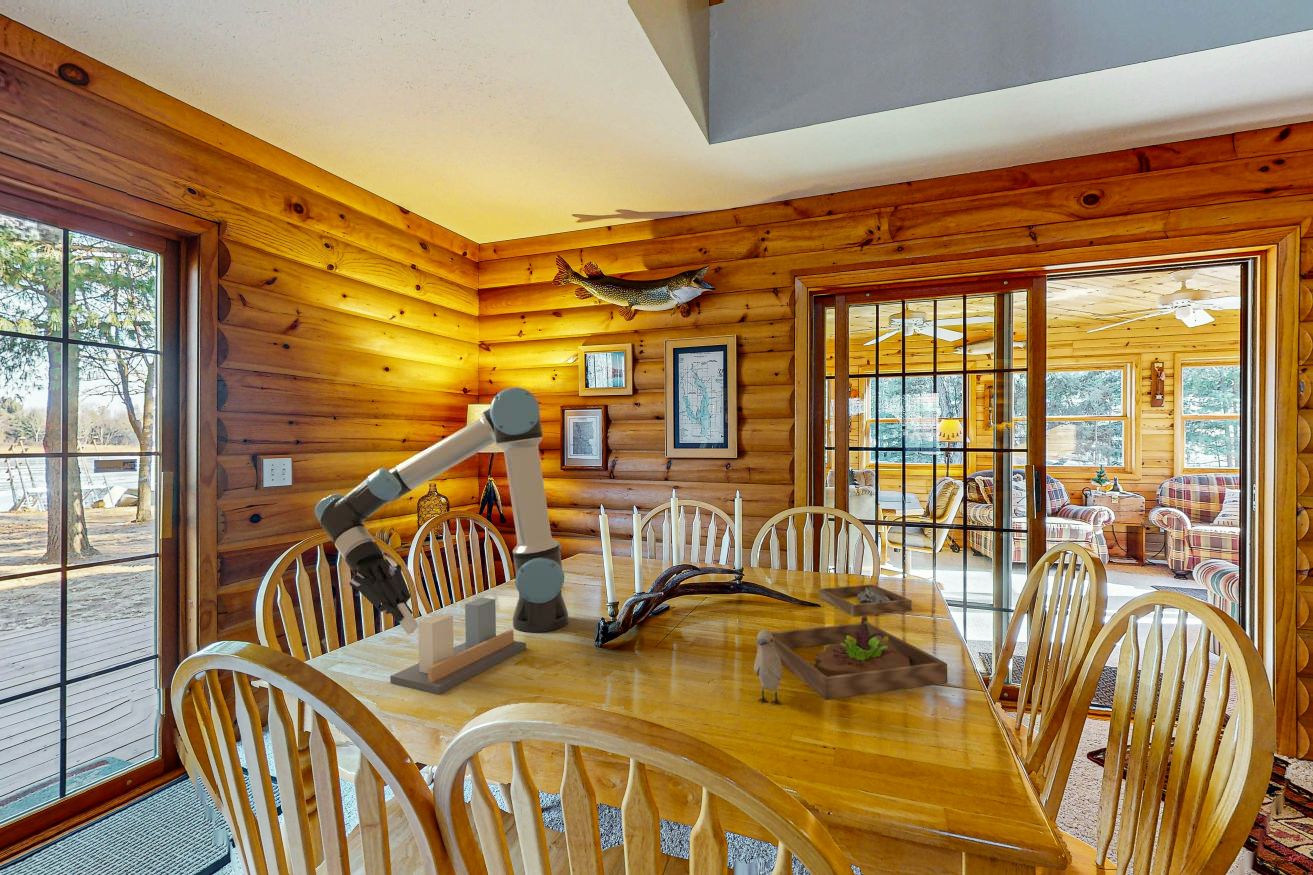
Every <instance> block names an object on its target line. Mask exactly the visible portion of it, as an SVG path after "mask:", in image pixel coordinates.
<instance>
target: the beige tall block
mask: <svg viewBox="0 0 1313 875" xmlns="http://www.w3.org/2000/svg"><path fill="white" fill-rule="evenodd" d="M417 623H418V625H419V626H418V661H419V662H418V663H419V672H423V673H428V667H430V666H433V665H435V664H437V663H439V662H441V661H443V660H446V659H448V658H450V657H452V656H454V649H453V648H454V615H451V614H446V613H436V614H434V615H431V616H429V617H426V618H423V619H420V620H418V622H417Z"/></svg>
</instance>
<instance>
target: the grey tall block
mask: <svg viewBox="0 0 1313 875" xmlns="http://www.w3.org/2000/svg"><path fill="white" fill-rule="evenodd" d="M496 608H497V607H496V598H489V597H481V598H477V599H475V600H472V601H470V602H466V603H464V609H465V610H464V611H465V613H464V617H465V619H464V620H465V624H464V625H465V642H466V650H467V649H469V648H471V647H474V646H476V645H478V644H480V643H482V642H484V641H487V640H489V639H491V638H493V637H495V636H497V620H496V619H497V615H496V614H497V613H496Z"/></svg>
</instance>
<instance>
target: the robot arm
mask: <svg viewBox="0 0 1313 875" xmlns="http://www.w3.org/2000/svg"><path fill="white" fill-rule="evenodd" d="M540 411H541V410H540V404H539V401H538V400H537V398H536V396H535V395H534V394H533V393H532V392H531V391H529V390H527V389H525V388H524V387H523V388H522V387H508V388H504V389H503V390H501V391H499V392H498V393H497V394H496V395H495V396H494V397H493V399H492V401H491V404H490V407H489V408H488V409H487V410H484V411H483V412H482V413H481V416H480V417H479V418H478V419H476V420H475V421H473V422H471V423H469V424H468V425H466V426H464V427H463V428H461V429H459V430H458V431H455V432H454V433H452V434H451V435H449V436H447V437H445V438H444V439H442V440H440V441H438V442H436V443H435V444H434V445H431V446H429V447H428V448H427V449H425V450H422V451H421V452H419V453H417V454H415V455H414V456H412V457H411V458H409V459H407V460H406V461H405V460H404V461H403V462H402V463H399V465H396V466H394V467H393V468H391V469H389V470H388V469H386V468H379V469H377V470H376V471H374V472H372V473H371V474H369V475H368V476H367V478H365V479H364V480H362V482H361V483H359V484H358V485H356V486H355V487H354V488H353V489H352V490H351V491H349V492H348V493H347V494H344V495H343V494H340V493H333V494H330V495H328V496H327V497H324V498H322V499H321V500H319V501H318V503H317V504H316V505H315V507H314V514H315V516H316V518H317V520H318V522H319V524H320V526H321V527H322V528H323V530H324V532H325V533H326V534H327V535H328V537H329V538H330V540H331V541H332V543H333V544H334V546H335V548H336V549H337V551H338V552H339V554H340V555H341V556H342V558H343V559H344V560H345V563H346V564H347V566H348V568H349V569H350V570H351V572H352V573H353V574H354V575H353V577H352V579H351V580H350V581H349V586H350V587H352V588H354V589H355V590H357V591H358V592H360V593H361V594H362V595H363V597H364V598H366V600H368V602H370V604H372V606H374V607H375V608H376V609H377V610H378V612H380V613H382V612H384V611H385V614H386V615H389V614H391V615H392V617H393V618H394V620H395V621H396V622H397V623H398V622H399V624H400V626H401V627H402V629H403V630H404V631H405V633H406V634H407V635H410V634H412V633H414V632H415V631H416V630H417V628H419V625H418V622H417V620H416V618H415V617H414V616H413V614H414V613H413V611H412V610H411V607H410V606H409V605H408V603H407V602H408V601H409V600H410V599H411V597H412V596H411V593H410V590H409V588H408V585H407V583H406V581H405V579H404V576H403V573H402V565H401V564H396V566H394V565H390V563H389V561H388V560H386V559H385V557H384V552H383V551H382V549H381V548H380V546H379V545H378V544H377V542H376V541H375V539H374V537H373V536H372V535H371V533H370V532H369V531H368V529H367V527H366V525H364V523H363V522H364V521H366V520H367V519H369V517H371V516H372V515H374V513H376V512H377V511H378V510H380V509H381V508H382V507H383V506H385V505H388V504H390V503H393V502H394V503H395V501H397V500H400V498H402V497H403V496H405V495H407V494H408V493H410V492H411V491H413V490H415V489H417V488H418V487H420V486H421V485H424V484H425V483H427V482H429V481H431V480H432V479H435V477H437V476H439V475H441V474H443V473H444V472H446V471H447V470H449V469H451V468H452V467H454V466H456V465H458V464H460V463H462V462H463V461H465V460H466V459H468V458H470V457H472V456H474V455H476V454H477V453H479V452H480V451H482V450H484V449H486V448H487V447H489V446H491V445H492V444H495V443H496V446H498V447H499V448H500V449H502V450H503V455H504V461H505V467H506V474H507V482H508V488H509V493H510V494H509V495H510V501H511V508H512V514H513V522H514V528H515V535H516V542H517V543H516V546H514V548H513V549H512V555H513V556H512V557H513V563H514V570H515V571H514V572H515V580H514V583H515V587H516V590H517V591H518V599H517V602H516V606H515V609H514V613H513V617H512V627H513V628H514V629H515V630H517V631H522V632H528V633H529V632H530V633H537V632H539V633H540V632H541V633H542V632H548V631H553V630H558V629H560V628H563V627H565V626H566V625H567V624H568V623H569V612H568V609H567V606H566V603H565V600H564V598H563V595H562V588H563V585H564V583H565V573H564V571H563V565H562V547H561V541H559V540H556V539H555V538H553V537H552V531H551V526H550V517H549V512H548V511H549V510H548V504H547V498H546V490H545V484H544V478H543V471H542V470H543V469H542V464H541V457H540V450H539V444H540V443H541V441H542V440H543V439H544V436H543V428H542V422H541V415H540V414H541V413H540Z"/></svg>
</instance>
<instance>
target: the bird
mask: <svg viewBox="0 0 1313 875" xmlns="http://www.w3.org/2000/svg"><path fill="white" fill-rule="evenodd" d="M770 632H771V631H769V629H766V628H764V629H762V630H760V631H759V632H758V634H757V635H756V647H757V649H756V657H755V658H754V659H755V660H754V666H753V669H754V672H755V675H756V676H758V679H759V681H760V685H761V691H762V692H761V694H762V696H761V697H762V698H758V700H757V703H759V701H761V704H762V703H763V702H766V703H768V701H767V699H766V697H765V695H764V693H765V689H766V690H767V691H768V690H769V691H772V690H774V695H775V696H774V697H775V699H774V700H772V701H771V702H770V704H772V703H774V705H776V704H779V705H780V706H782V704H781V703H780V701H779V700H778V698H777V697H778V690H779V684H780V682H781V679H782V676H783V675H782V674H783V672H782V671H783V670H782V668H783V667H782V663H781V660H780V658H779V655H778V653H777V651H776V649H775V647H774V642H773V636H772V634H771V633H770Z"/></svg>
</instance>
